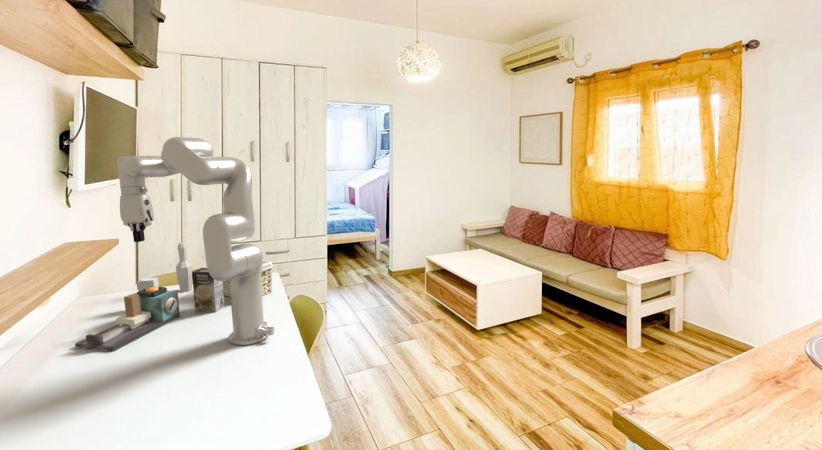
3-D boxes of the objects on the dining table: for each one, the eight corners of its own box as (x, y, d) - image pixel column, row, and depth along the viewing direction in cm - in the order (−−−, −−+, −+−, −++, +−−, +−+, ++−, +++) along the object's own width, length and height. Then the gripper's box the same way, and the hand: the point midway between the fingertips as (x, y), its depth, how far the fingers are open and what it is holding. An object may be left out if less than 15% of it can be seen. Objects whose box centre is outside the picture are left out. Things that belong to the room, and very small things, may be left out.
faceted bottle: (175, 290, 180) (170, 243, 176) (189, 287, 185) (185, 241, 181) (182, 293, 176) (177, 245, 173) (196, 289, 181) (192, 242, 178)
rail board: (182, 316, 150) (179, 287, 148) (116, 351, 123) (111, 315, 121) (147, 314, 152) (144, 285, 150) (75, 347, 125) (70, 313, 123)
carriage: (151, 321, 141) (148, 293, 140) (135, 329, 134) (131, 299, 133) (134, 319, 142) (131, 292, 141) (117, 327, 136) (113, 298, 134)
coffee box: (194, 311, 155) (190, 271, 152) (204, 305, 161) (200, 267, 159) (216, 312, 154) (212, 272, 152) (225, 306, 160) (222, 268, 158)
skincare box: (162, 305, 162) (159, 277, 160) (157, 309, 157) (153, 280, 155) (145, 306, 160) (142, 277, 159) (140, 310, 156) (136, 281, 154)
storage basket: (276, 292, 177) (274, 260, 175) (245, 304, 163) (242, 269, 161) (241, 284, 189) (239, 254, 186) (209, 294, 175) (206, 262, 173)
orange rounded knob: (161, 291, 147) (161, 286, 147) (152, 295, 143) (152, 290, 143) (152, 291, 148) (151, 286, 148) (143, 294, 144) (142, 289, 144)
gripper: (160, 190, 145) (165, 240, 148) (124, 190, 147) (130, 238, 150) (143, 192, 137) (148, 244, 140) (106, 191, 140) (112, 242, 143)
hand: (139, 241), depth 145 cm, fingers closed
